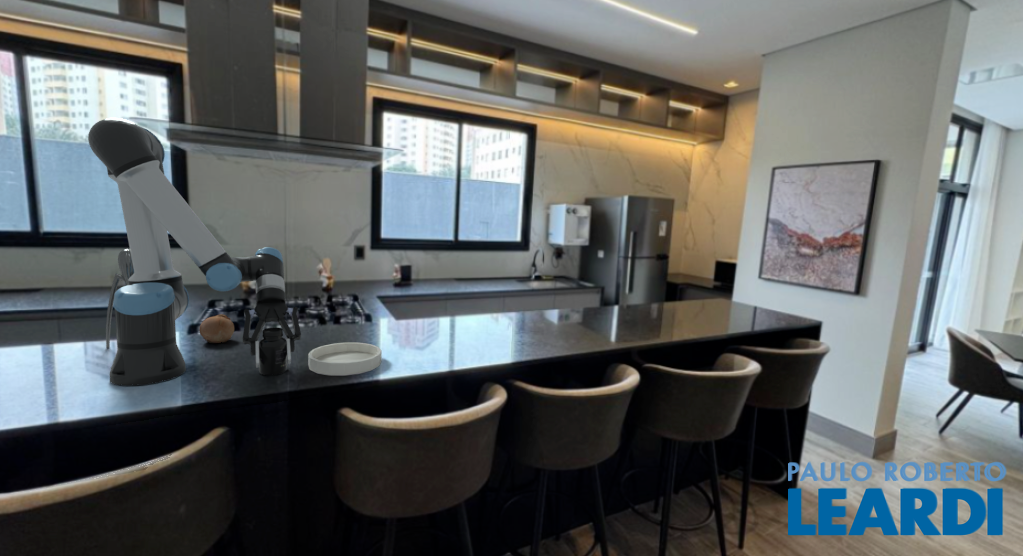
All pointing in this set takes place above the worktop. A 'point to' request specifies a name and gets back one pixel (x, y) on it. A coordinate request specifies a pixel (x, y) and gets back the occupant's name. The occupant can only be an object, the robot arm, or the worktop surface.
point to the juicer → (127, 272)
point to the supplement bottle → (272, 352)
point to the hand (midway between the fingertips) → (273, 363)
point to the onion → (217, 329)
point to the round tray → (344, 358)
